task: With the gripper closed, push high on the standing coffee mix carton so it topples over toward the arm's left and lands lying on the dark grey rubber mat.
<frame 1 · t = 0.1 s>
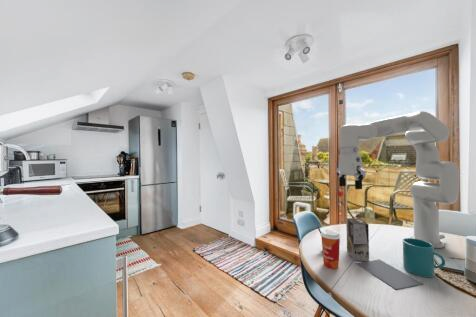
hand: (350, 187, 92), 31 cm above the table, fingers open, 9 cm apart
mat: (386, 273, 76), on the table
coffee box: (357, 256, 90), on the table
cup: (423, 272, 76), on the table
paper cup: (331, 266, 82), on the table
cocoa: (328, 251, 95), on the table
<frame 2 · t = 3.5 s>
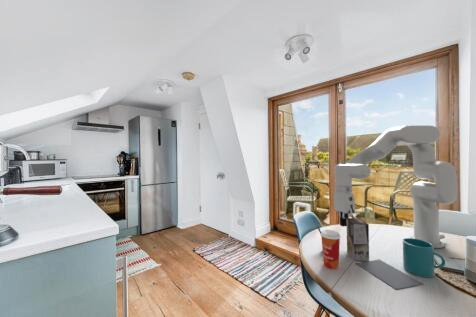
hand: (343, 225, 98), 11 cm above the table, fingers closed
coffee box: (357, 256, 90), on the table, touching gripper
everything else where it was.
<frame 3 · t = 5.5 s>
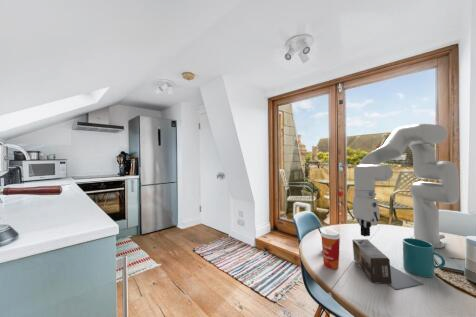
hand: (365, 235, 85), 11 cm above the table, fingers closed
coffee box: (360, 248, 86), point 5 cm above the table, touching mat
everything else where it was.
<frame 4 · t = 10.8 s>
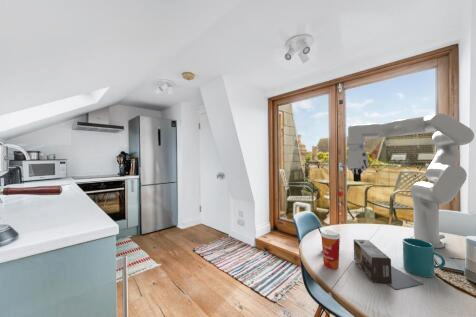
hand: (357, 181, 107), 32 cm above the table, fingers closed
nothing on the table moved.
at the end: coffee box tilted 91°; coffee box inside the target area (4.6 cm from its centre), point 4.9 cm above the table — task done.
